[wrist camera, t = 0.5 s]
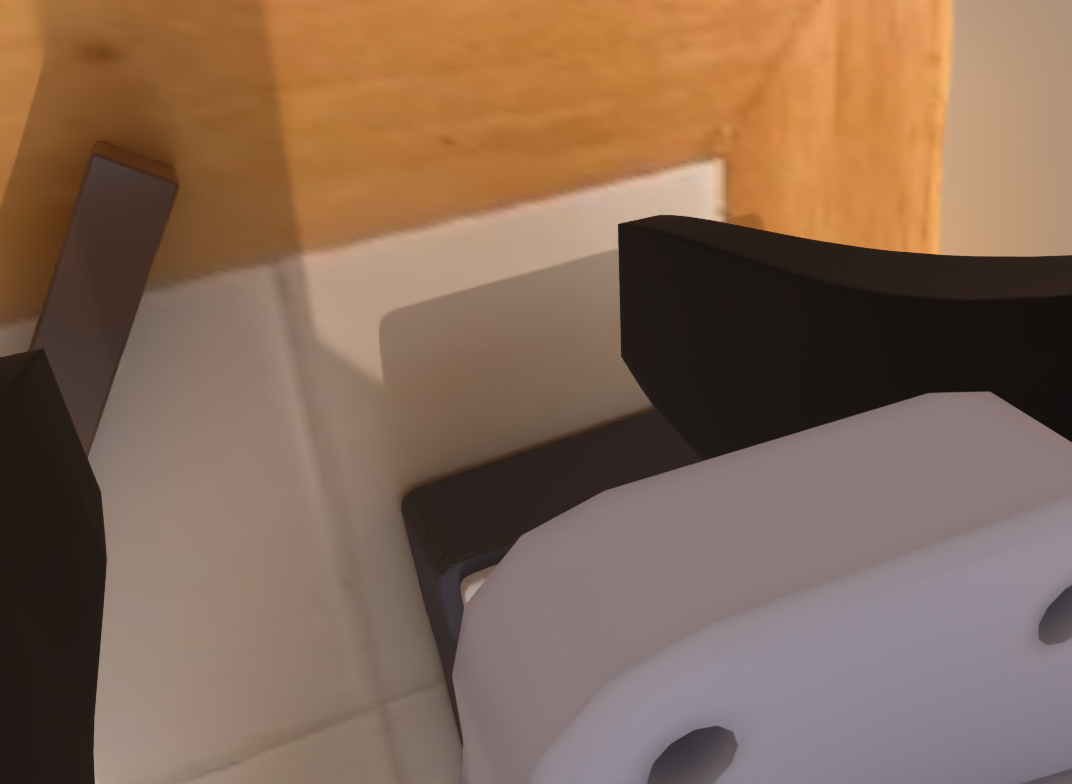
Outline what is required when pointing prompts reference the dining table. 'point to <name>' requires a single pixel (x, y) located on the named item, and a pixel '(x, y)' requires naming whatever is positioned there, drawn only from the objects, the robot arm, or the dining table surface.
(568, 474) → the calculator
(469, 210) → the dining table surface
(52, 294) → the bar
